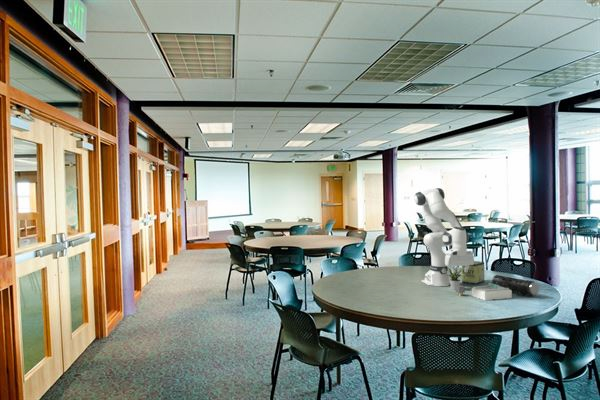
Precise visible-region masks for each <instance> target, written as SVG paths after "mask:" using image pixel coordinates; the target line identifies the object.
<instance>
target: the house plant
mask: <svg viewBox="0 0 600 400" xmlns="http://www.w3.org/2000/svg"><path fill="white" fill-rule="evenodd" d="M447 268H448V272H449V280H450V285H449V286H450V289H452V290H453V291H454V290H455V291H456V286H458V285H461V280H460V279H459V278H460V277H462V270H464V269H462V268H461V269H460V270H459V271H458V266H455V268H454V270H456V271H455V272H456V273H452V269H451V268H450V267H449V266H448V267H447ZM463 277H464V276H463ZM450 278H451V279H450Z"/></svg>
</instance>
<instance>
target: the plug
mask: <svg viewBox="0 0 600 400" xmlns="http://www.w3.org/2000/svg"><path fill="white" fill-rule="evenodd" d="M465 291H466V290H465V286H464V285H461V284H460V285H458V286H456V290H455V292H456V296H460V297H461V296H463V295H464V293H465Z"/></svg>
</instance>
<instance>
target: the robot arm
mask: <svg viewBox="0 0 600 400" xmlns="http://www.w3.org/2000/svg"><path fill="white" fill-rule="evenodd" d="M414 202H415V204H416V205H417V206H420V207H421V209H422V215H423V218H424V222H425V226H426V228H427V229H429V230H431V231H432V232H429V233H427V234H425V235H424V237H423V243H424V245H425V246H426V247H427V249H428V250H429V253H430V258H431V259H430V262H431V264H430V265H429V270H428V271H427V272H426V273H425V275H424V279H421V283H424V284H426V285H427V286H435V287H448V286H451V285H450V276H449V275H450V272H449V269H450V270H451V271H452V273H456V272H455V271H456V270H454V269H455V267H462V266H466V268H465V269H464V272H468V268H469V265H474V261H475V257H474V252H473V251H472V250H469V251H468V250H467V248H468V246H467V243H469V239H470V236H469V234H468V232H467V231H466V228H465V227H463V226H462V224H461V222H460V220H459V219H458V217H457V216H456V214H455V213H454V212H453V211H452V210H451V209H450V208H449V207H448V206H447V204H446V202H445V192H444V190H443V188H439V187H437V188H429V189H425V190H422V191H418V192H415V194H414ZM442 220H444V221H447V222H448V223H449V224H450V225H451V227H452V228H451V229H449V230H448V229H447V228H446V227H445V226H444V224H443V223H442ZM449 246H451V247H452V248H450V249H448V250H446V251H445V252H444V251H443V248H444V247H449ZM447 267H448V268H449V269H448V268H447Z"/></svg>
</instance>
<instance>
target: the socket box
mask: <svg viewBox="0 0 600 400" xmlns="http://www.w3.org/2000/svg"><path fill="white" fill-rule="evenodd" d="M497 286H499V285H497ZM512 293H513V292H512V290H509V288H499V289H491V288H488V285H476V286H474V287H472V288H471V296H472V297H474V298H477V299H479V298H480V299H479V300H482V299H483V301H494V300H493V299H495V300H504V299H505V298H506V299H513V297H512V296H513V294H512Z"/></svg>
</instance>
